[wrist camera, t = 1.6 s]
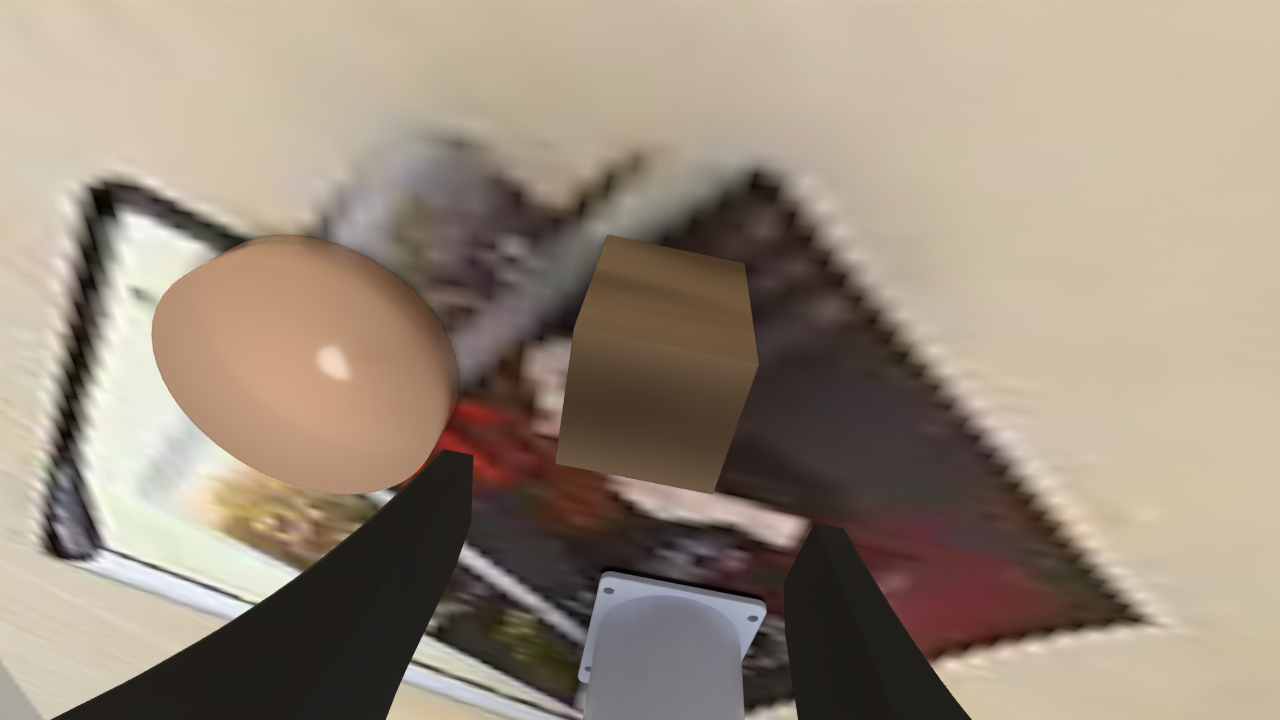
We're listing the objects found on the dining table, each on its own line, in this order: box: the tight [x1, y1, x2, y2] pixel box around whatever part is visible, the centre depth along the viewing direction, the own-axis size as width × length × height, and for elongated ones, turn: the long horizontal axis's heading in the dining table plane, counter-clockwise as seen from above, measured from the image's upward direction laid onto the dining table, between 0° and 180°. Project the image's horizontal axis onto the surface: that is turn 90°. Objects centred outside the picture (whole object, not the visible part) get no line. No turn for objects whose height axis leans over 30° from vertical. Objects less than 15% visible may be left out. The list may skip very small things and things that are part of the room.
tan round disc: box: [152, 235, 459, 494], centre depth 22 cm, size 10×10×2 cm
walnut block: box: [555, 235, 759, 494], centre depth 18 cm, size 4×4×6 cm
